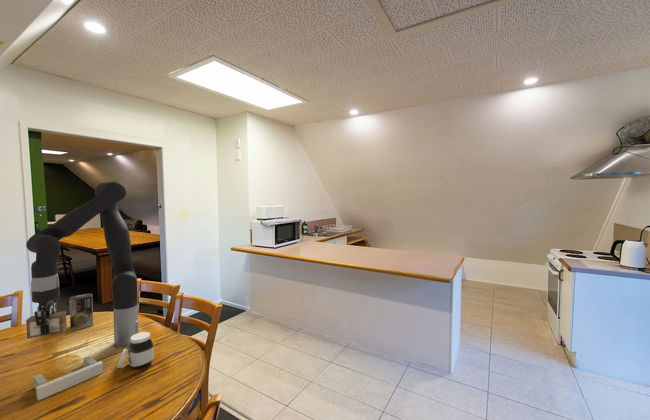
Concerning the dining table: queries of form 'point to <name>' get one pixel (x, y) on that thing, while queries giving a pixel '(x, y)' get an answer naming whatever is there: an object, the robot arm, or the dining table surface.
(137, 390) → the dining table surface
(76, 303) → the coffee box
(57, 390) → the ledge
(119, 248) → the robot arm
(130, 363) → the spread jar
